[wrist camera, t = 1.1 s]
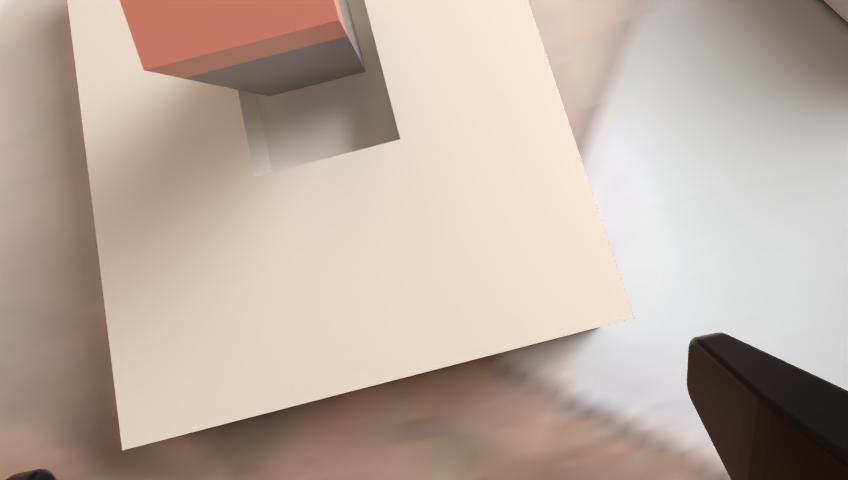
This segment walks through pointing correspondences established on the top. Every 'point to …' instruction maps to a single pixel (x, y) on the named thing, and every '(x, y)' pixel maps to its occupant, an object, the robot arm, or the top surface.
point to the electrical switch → (839, 7)
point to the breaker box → (334, 215)
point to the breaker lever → (246, 41)
